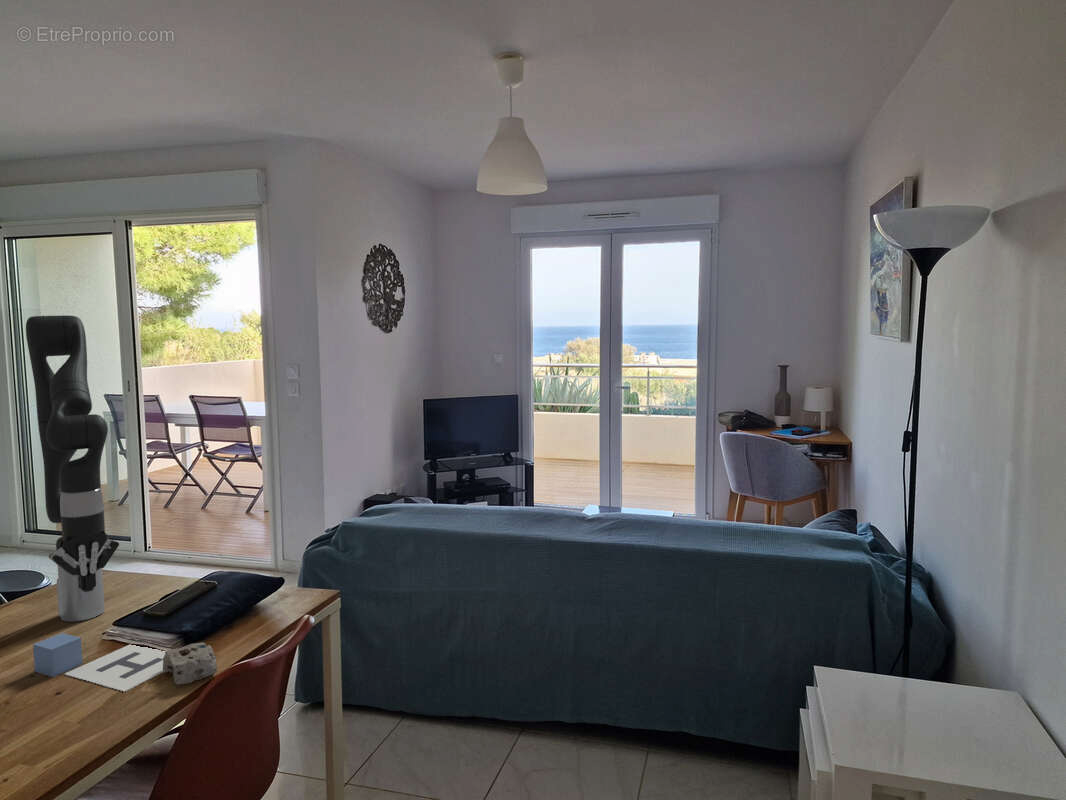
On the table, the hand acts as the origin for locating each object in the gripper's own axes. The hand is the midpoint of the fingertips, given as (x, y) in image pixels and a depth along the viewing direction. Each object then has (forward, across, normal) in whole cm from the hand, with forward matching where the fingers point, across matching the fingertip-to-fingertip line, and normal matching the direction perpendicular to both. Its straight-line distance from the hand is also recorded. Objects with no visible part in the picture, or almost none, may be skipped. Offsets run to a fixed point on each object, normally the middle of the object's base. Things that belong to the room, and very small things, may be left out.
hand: (87, 590), depth 145 cm
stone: (+16, -10, +21) cm, 28 cm away
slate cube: (+16, +5, -4) cm, 18 cm away
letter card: (+16, -4, +7) cm, 18 cm away
